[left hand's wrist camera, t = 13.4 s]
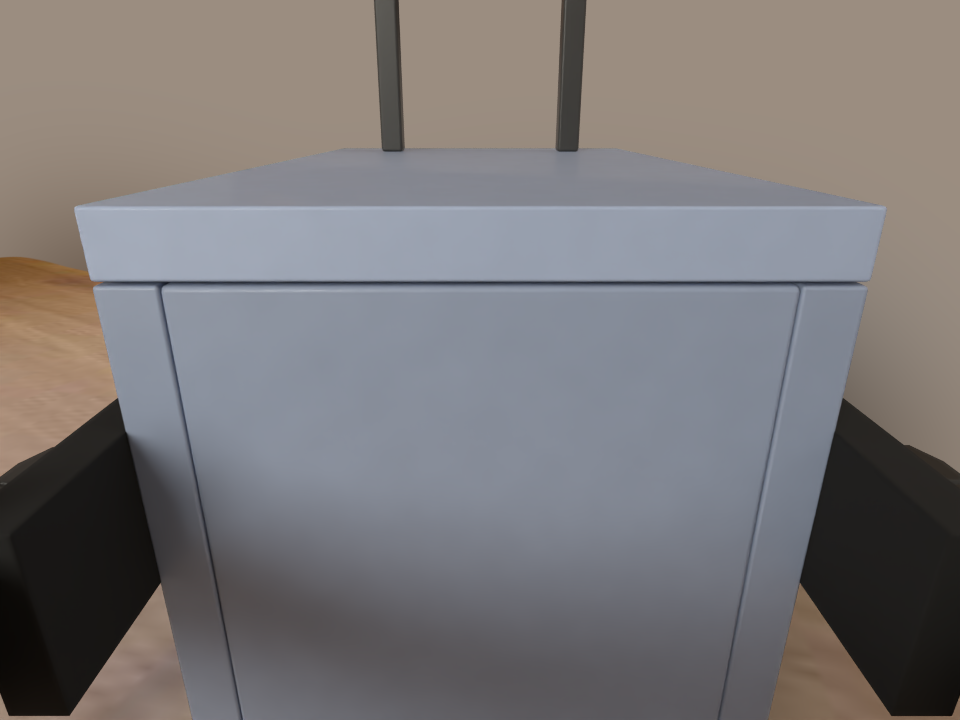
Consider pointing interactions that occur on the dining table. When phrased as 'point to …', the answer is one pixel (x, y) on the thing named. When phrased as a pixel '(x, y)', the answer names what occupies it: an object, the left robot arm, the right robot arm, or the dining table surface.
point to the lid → (480, 212)
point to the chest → (480, 490)
